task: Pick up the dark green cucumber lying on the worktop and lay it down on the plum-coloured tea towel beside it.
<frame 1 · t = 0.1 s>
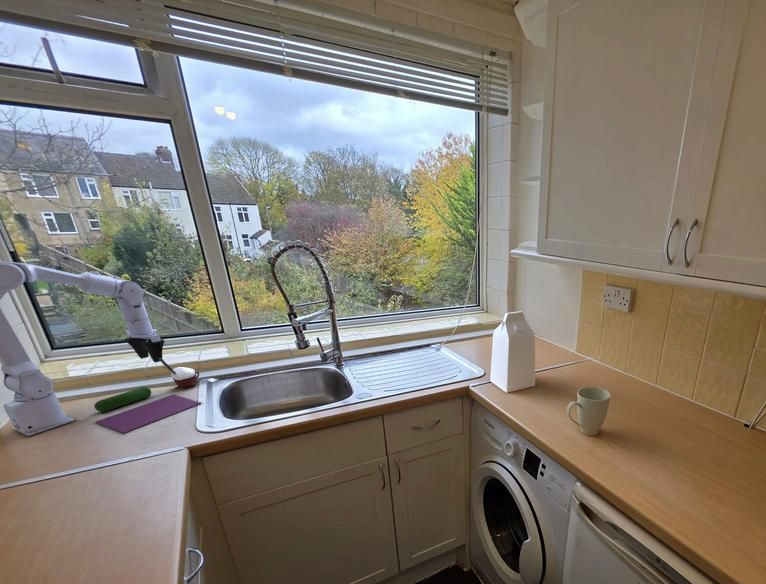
hand: (151, 359, 133), 10 cm above the worktop, tool pointing down, fingers open, 7 cm apart
cucumber: (126, 404, 125), on the worktop
milk: (512, 383, 146), on the worktop
cocoa: (186, 386, 138), on the worktop
towel: (151, 412, 121), on the worktop
mug: (586, 432, 116), on the worktop
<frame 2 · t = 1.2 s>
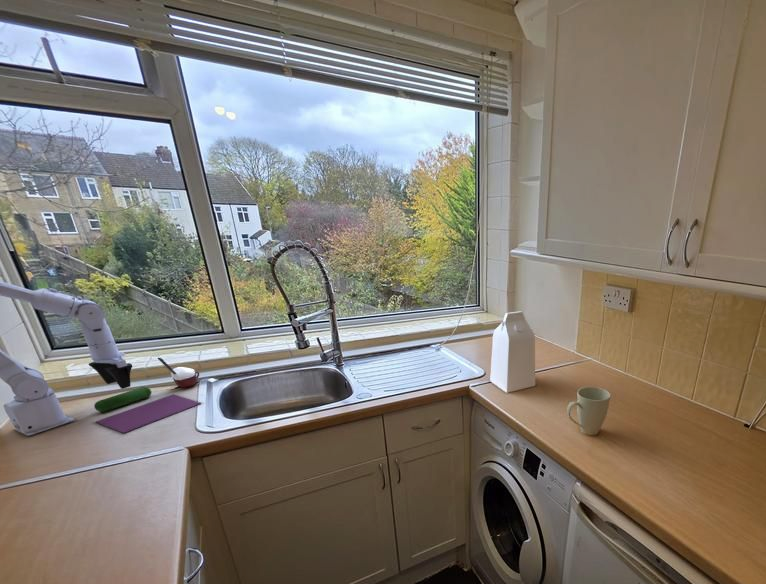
hand: (118, 385, 123), 6 cm above the worktop, tool pointing down, fingers open, 7 cm apart
nothing on the worktop moved.
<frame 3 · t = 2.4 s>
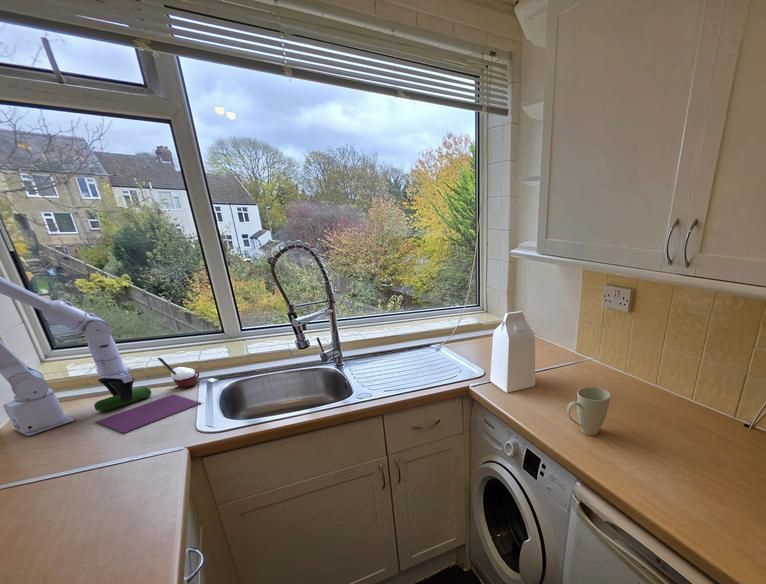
hand: (124, 399, 125), 2 cm above the worktop, tool pointing down, fingers closed on cucumber, 3 cm apart
cucumber: (126, 403, 125), on the worktop, touching gripper
everything else where it was.
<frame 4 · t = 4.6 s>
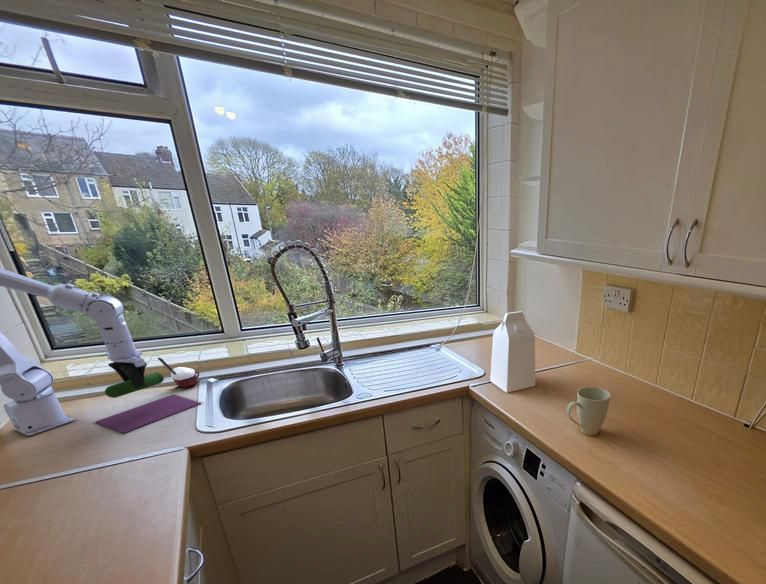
hand: (135, 385, 118), 8 cm above the worktop, tool pointing down, fingers closed on cucumber, 3 cm apart
cucumber: (137, 390, 119), point 7 cm above the worktop, touching gripper
everything else where it was.
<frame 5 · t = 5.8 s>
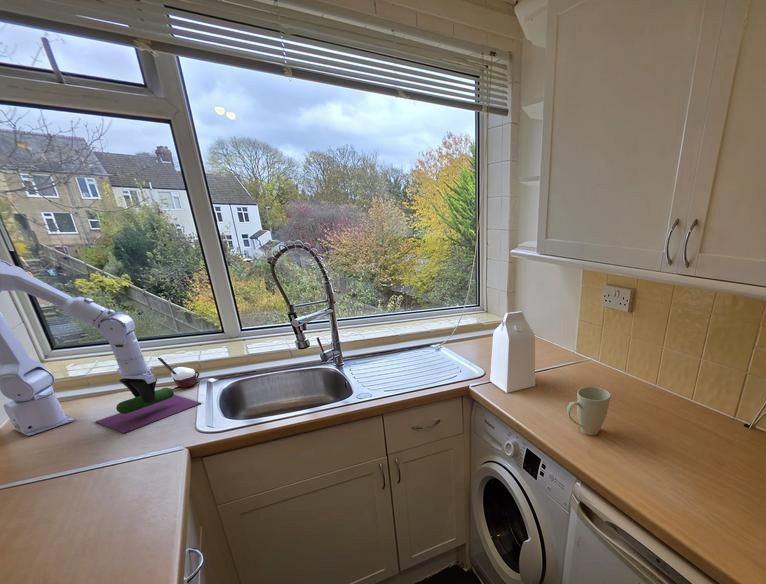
hand: (146, 400, 119), 4 cm above the worktop, tool pointing down, fingers closed on cucumber, 3 cm apart
cucumber: (148, 405, 120), point 2 cm above the worktop, touching gripper
everything else where it was.
when the fingers open (2 cm above the worktop, at t = 6.6 s): cucumber stays where it is, resting on towel.
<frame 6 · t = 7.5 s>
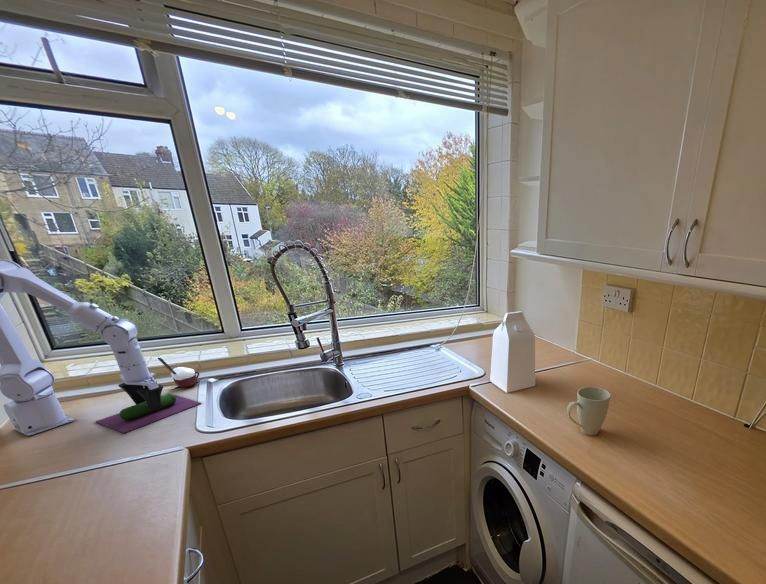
hand: (148, 406, 120), 2 cm above the worktop, tool pointing down, fingers open, 7 cm apart
cucumber: (150, 411, 121), resting on towel, tilted 5°
everything else where it was.
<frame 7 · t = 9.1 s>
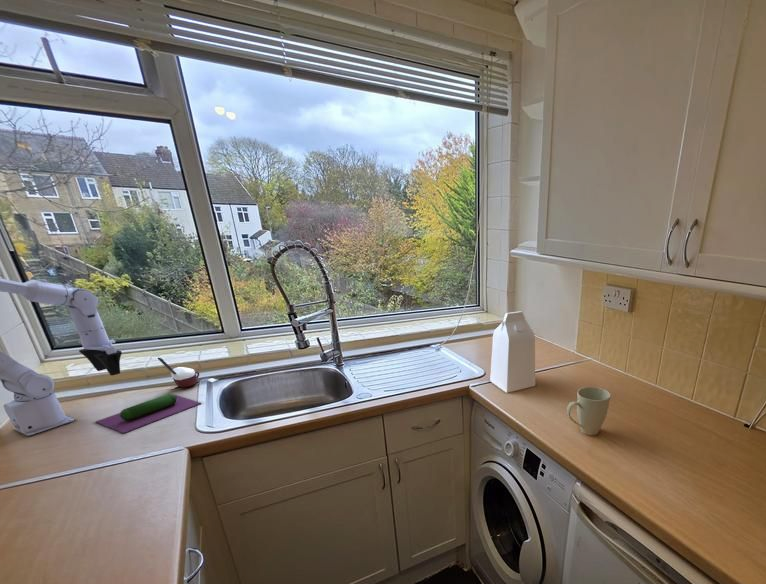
hand: (108, 372, 124), 9 cm above the worktop, tool pointing down, fingers open, 7 cm apart
cucumber: (150, 411, 121), resting on towel, tilted 14°
everything else where it was.
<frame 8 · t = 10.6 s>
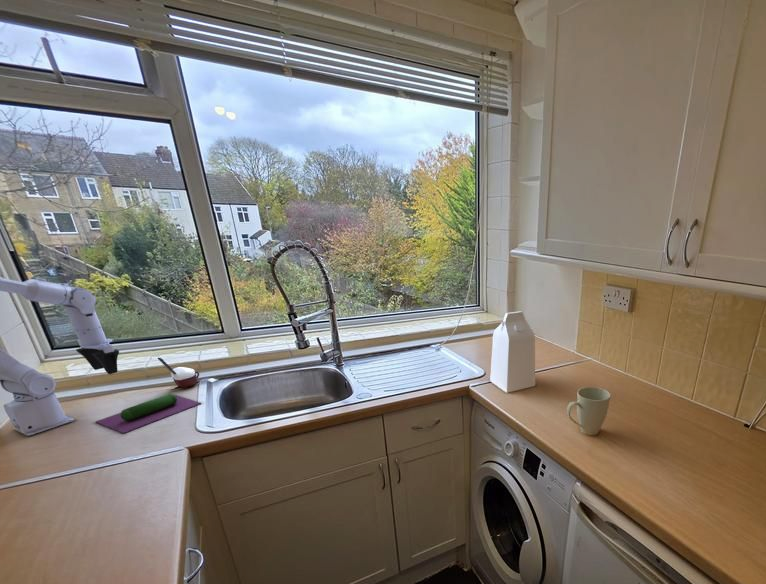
hand: (106, 370, 125), 9 cm above the worktop, tool pointing down, fingers open, 7 cm apart
cucumber: (150, 411, 121), resting on towel, tilted 21°
everything else where it was.
at the end: cucumber inside the target area on the towel (0.1 cm from its centre), point 0.4 cm above the towel's base; the gripper is holding nothing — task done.
